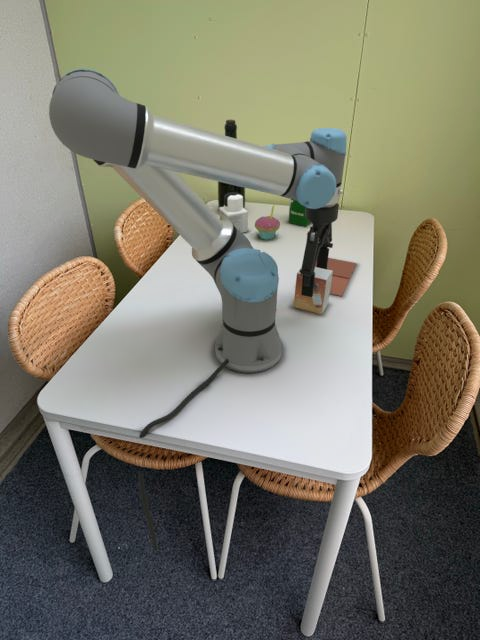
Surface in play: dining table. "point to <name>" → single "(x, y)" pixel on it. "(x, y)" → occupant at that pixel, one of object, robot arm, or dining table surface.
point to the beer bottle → (224, 187)
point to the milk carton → (297, 213)
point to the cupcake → (267, 226)
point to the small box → (314, 292)
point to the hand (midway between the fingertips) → (314, 282)
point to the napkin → (339, 275)
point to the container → (234, 211)
